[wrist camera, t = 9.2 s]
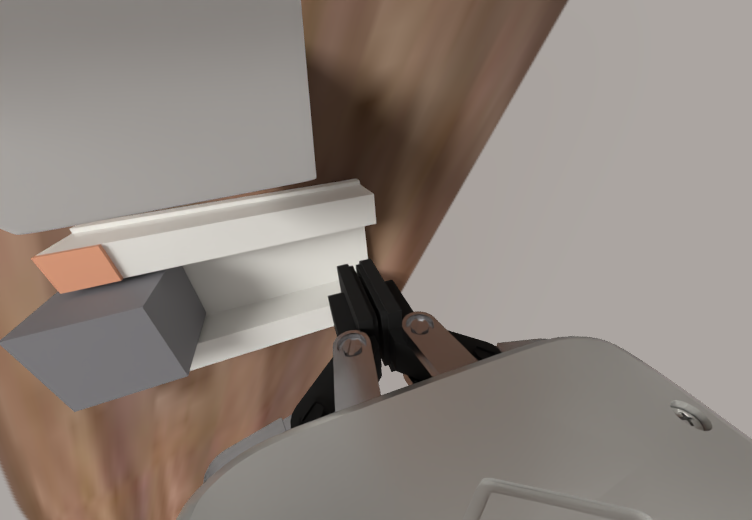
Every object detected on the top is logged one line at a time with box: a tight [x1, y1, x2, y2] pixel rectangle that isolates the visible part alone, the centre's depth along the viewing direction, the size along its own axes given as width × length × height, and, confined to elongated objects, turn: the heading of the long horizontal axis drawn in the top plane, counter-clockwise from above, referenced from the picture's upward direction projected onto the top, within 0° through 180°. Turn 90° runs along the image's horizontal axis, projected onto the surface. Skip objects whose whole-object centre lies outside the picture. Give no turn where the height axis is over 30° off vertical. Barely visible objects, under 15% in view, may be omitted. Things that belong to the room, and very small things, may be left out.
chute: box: [31, 179, 376, 371], centre depth 22 cm, size 20×12×5 cm, turn 95°
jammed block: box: [0, 266, 206, 412], centre depth 18 cm, size 6×6×7 cm
